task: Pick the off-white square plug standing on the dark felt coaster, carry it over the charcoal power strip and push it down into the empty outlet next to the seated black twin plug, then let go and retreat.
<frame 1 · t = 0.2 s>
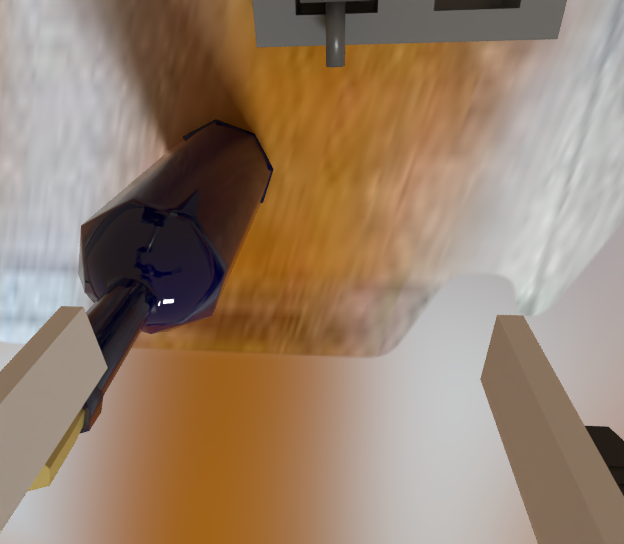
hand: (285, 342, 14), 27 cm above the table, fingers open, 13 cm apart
bottle: (225, 169, 40), on the table
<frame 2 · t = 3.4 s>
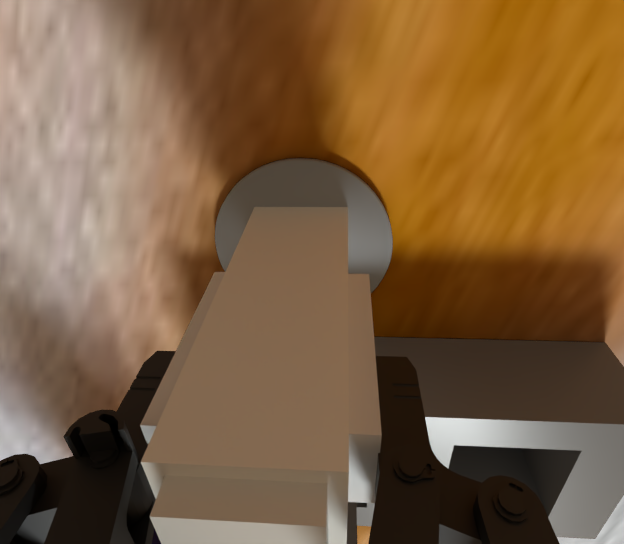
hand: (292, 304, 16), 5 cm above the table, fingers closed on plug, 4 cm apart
coaster: (303, 243, 20), on the table
strip: (396, 396, 25), on the table
plug: (302, 247, 19), resting on coaster, touching gripper
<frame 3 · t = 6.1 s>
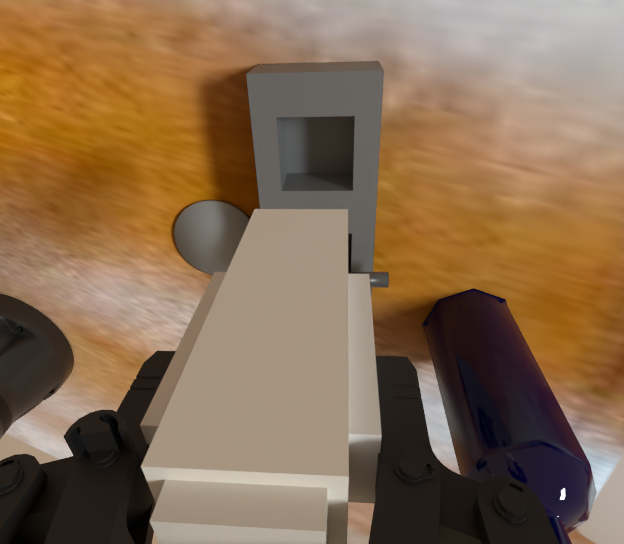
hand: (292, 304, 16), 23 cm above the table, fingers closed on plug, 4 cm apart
coaster: (217, 238, 41), on the table
strip: (320, 188, 37), on the table
bottle: (466, 323, 45), on the table
plug: (302, 249, 19), point 19 cm above the table, touching gripper
when the fingers open (6 cm above the table, at t = 8.9 s): plug stays where it is, resting on strip.
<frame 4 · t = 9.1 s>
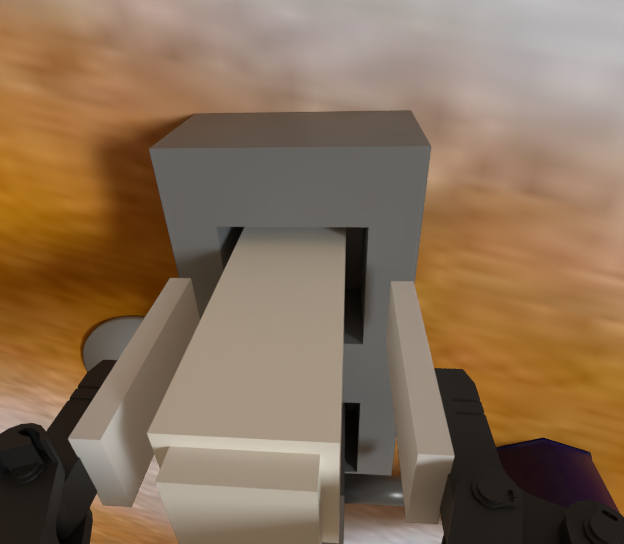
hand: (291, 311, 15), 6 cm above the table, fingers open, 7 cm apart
coaster: (151, 366, 26), on the table
strip: (308, 305, 23), on the table
bottle: (526, 476, 30), on the table
plug: (302, 242, 20), point 1 cm above the table, touching strip
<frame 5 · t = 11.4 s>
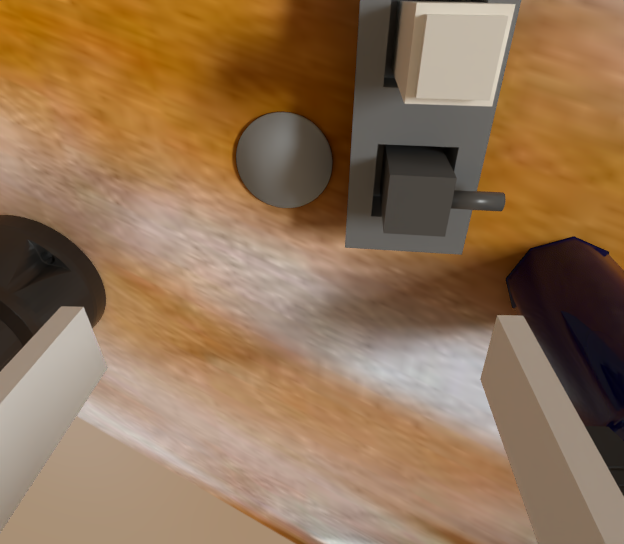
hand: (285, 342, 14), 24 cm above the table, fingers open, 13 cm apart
coaster: (284, 161, 36), on the table
strip: (414, 102, 32), on the table
bottle: (557, 279, 39), on the table
plug: (424, 36, 29), point 1 cm above the table, touching strip
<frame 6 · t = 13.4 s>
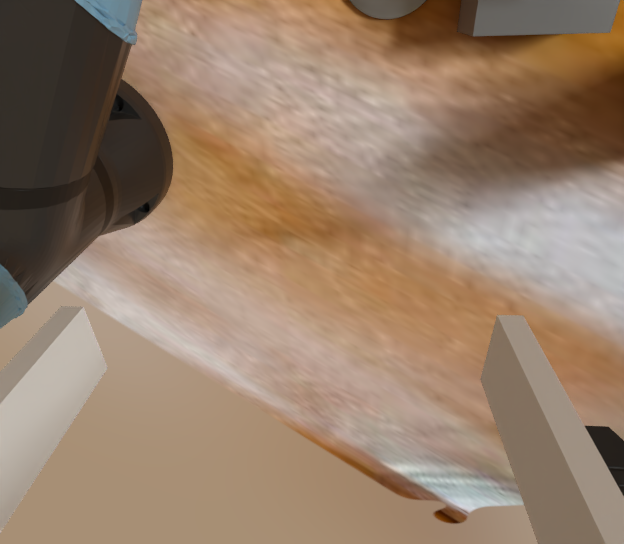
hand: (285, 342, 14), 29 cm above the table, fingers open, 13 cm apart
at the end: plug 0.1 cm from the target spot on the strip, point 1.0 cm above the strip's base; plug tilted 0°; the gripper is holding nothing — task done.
